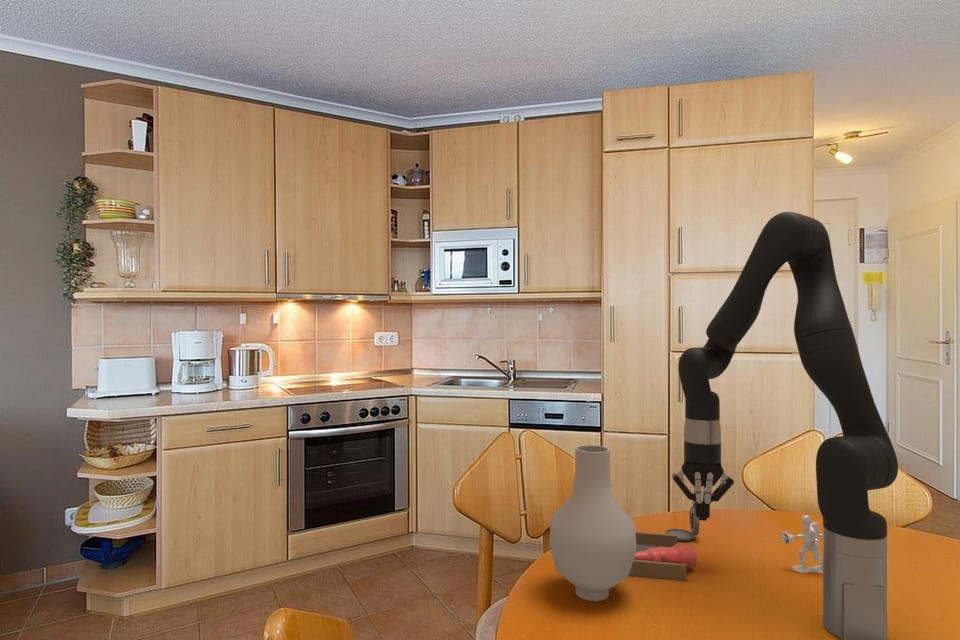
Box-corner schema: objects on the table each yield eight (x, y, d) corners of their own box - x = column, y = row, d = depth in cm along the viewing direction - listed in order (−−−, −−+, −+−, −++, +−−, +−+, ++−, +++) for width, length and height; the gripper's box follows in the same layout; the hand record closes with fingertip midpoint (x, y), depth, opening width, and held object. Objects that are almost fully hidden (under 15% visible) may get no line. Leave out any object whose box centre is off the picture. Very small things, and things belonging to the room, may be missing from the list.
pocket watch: (659, 535, 144) (659, 494, 144) (685, 530, 148) (685, 490, 148) (683, 546, 137) (683, 503, 137) (710, 541, 140) (710, 499, 141)
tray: (686, 580, 119) (686, 566, 119) (596, 572, 123) (596, 557, 123) (676, 547, 136) (676, 534, 136) (598, 540, 140) (598, 528, 140)
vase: (636, 580, 119) (637, 442, 119) (636, 620, 103) (636, 461, 103) (555, 570, 123) (555, 438, 123) (542, 607, 107) (542, 455, 107)
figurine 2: (687, 561, 127) (619, 562, 126) (688, 539, 127) (620, 539, 126) (697, 574, 122) (626, 574, 121) (698, 550, 121) (627, 551, 121)
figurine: (834, 574, 122) (834, 517, 122) (794, 577, 121) (794, 519, 121) (817, 565, 127) (817, 509, 127) (779, 567, 125) (779, 511, 125)
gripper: (672, 441, 124) (672, 523, 124) (738, 444, 121) (739, 527, 121) (668, 434, 131) (668, 512, 131) (731, 437, 129) (731, 516, 128)
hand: (702, 519), depth 126 cm, fingers closed
